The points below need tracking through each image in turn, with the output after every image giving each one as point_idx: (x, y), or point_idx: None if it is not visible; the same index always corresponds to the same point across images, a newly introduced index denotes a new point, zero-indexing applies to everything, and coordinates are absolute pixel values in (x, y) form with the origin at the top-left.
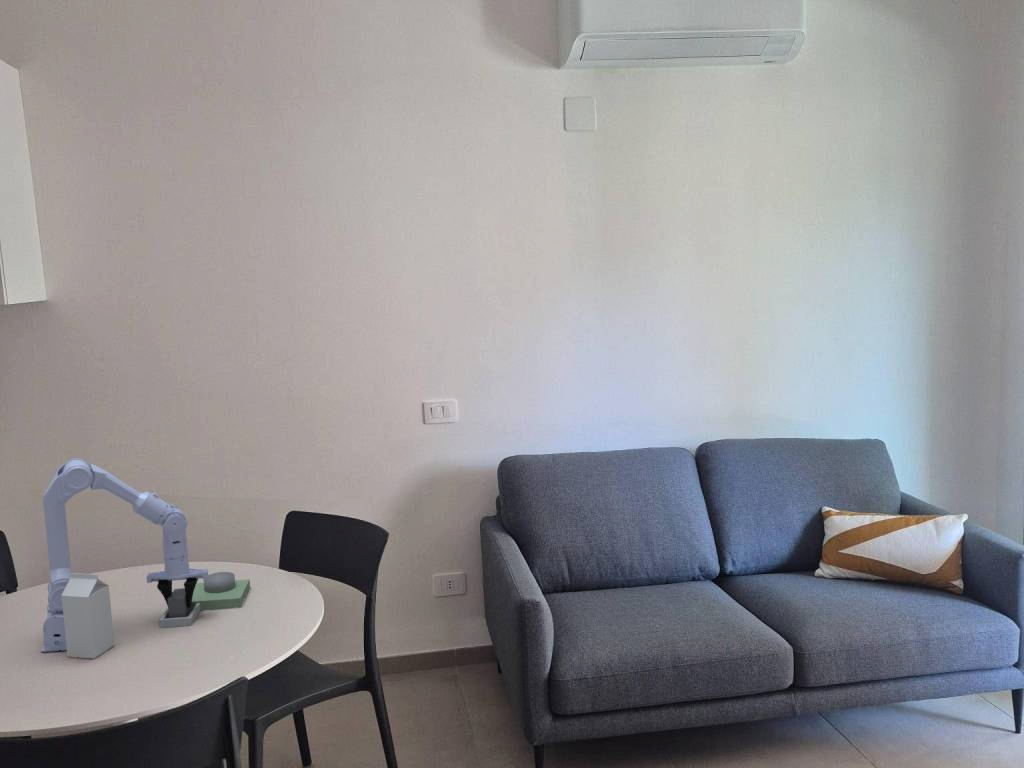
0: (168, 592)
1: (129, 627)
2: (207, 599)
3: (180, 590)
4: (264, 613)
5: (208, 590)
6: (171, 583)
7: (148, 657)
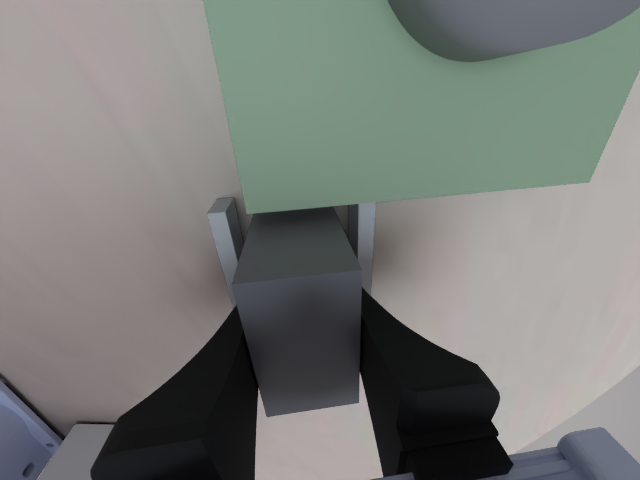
0: (253, 418)
1: (121, 329)
2: (419, 181)
3: (295, 314)
4: (608, 241)
5: (424, 35)
6: (227, 402)
7: (302, 450)
